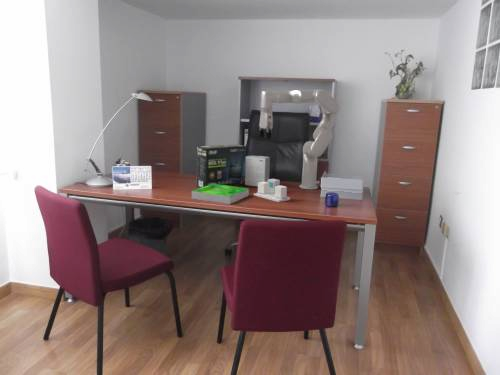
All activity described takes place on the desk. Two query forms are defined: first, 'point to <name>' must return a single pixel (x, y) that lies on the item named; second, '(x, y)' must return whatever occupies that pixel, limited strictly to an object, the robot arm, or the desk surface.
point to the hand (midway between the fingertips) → (264, 137)
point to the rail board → (278, 196)
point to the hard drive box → (256, 169)
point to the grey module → (273, 184)
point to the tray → (220, 193)
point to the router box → (220, 165)
